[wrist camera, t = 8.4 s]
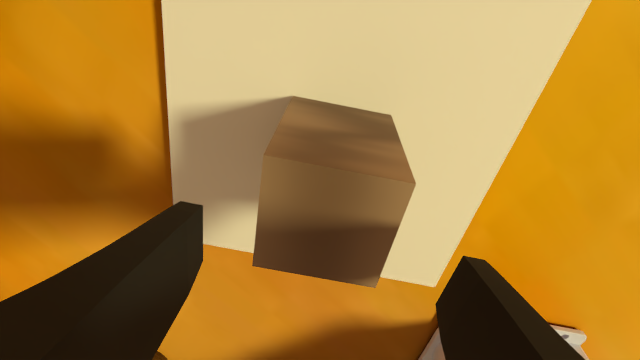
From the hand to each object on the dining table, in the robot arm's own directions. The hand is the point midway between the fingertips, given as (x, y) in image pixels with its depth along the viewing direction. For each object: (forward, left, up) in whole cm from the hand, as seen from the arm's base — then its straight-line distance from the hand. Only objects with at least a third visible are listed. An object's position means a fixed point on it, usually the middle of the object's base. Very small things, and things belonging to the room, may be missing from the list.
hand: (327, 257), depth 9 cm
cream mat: (0, 0, -8) cm, 8 cm away
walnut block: (0, 0, -8) cm, 8 cm away
